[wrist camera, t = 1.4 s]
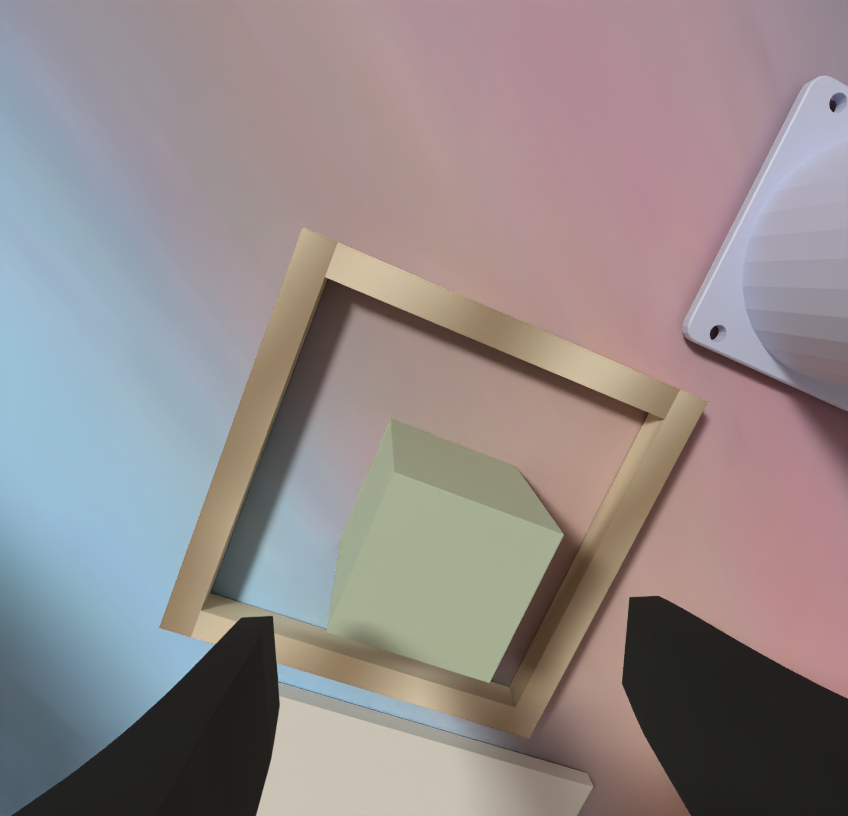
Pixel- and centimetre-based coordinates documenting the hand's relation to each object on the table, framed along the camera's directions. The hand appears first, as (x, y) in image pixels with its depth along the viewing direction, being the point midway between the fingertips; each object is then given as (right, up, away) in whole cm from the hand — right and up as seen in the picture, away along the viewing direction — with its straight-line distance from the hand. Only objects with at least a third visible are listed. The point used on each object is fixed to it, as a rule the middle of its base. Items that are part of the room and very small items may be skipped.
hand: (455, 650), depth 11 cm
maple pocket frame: (0, +2, +7) cm, 7 cm away
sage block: (0, +2, +7) cm, 7 cm away
